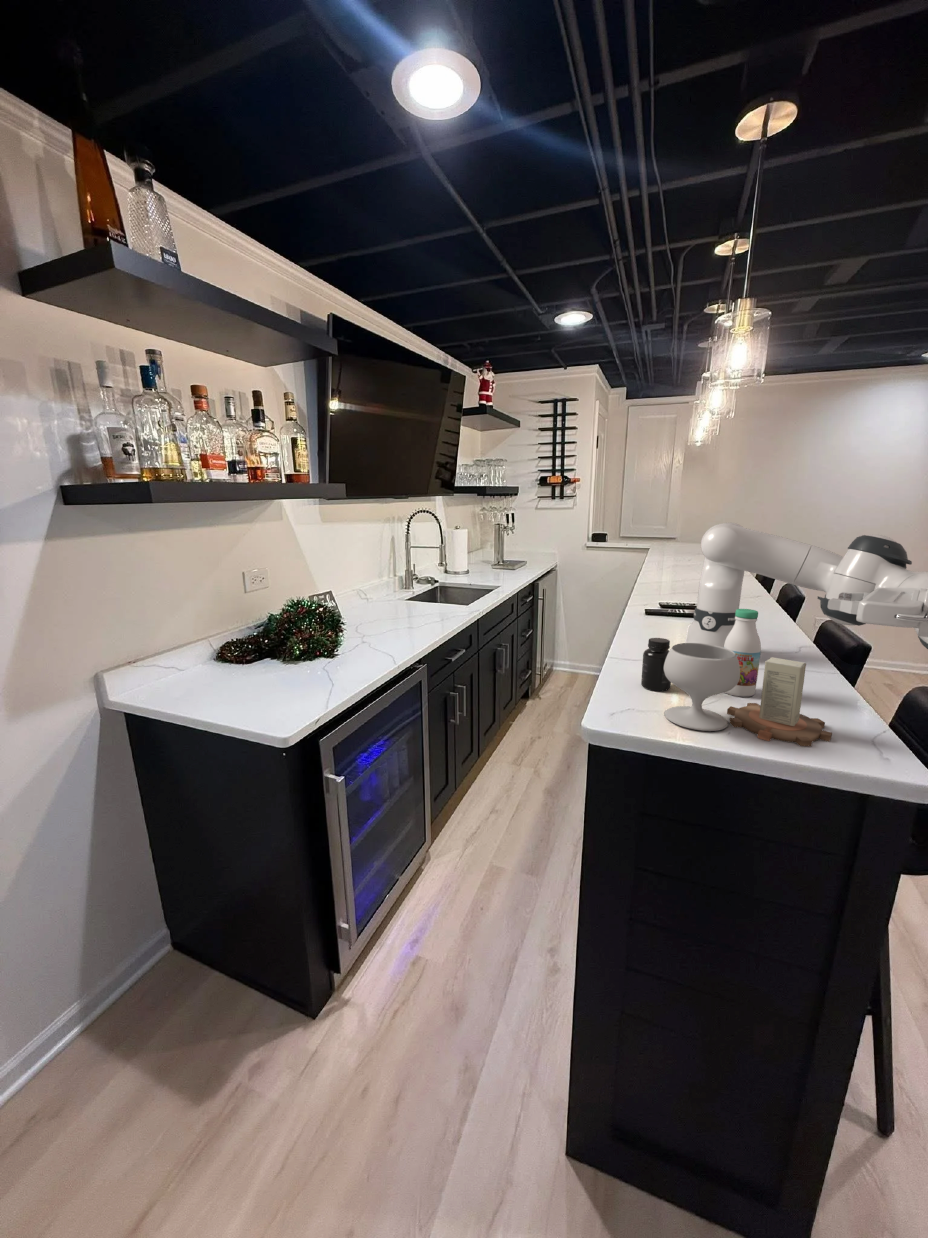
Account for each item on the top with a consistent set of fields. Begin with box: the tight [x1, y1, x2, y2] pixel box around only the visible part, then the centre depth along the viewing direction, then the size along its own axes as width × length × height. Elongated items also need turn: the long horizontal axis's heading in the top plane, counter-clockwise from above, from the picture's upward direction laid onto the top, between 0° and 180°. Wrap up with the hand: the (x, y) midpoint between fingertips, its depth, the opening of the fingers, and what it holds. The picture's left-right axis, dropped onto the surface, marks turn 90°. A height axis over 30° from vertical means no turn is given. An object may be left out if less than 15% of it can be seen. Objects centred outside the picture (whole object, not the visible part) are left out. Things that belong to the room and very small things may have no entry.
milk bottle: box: [723, 608, 762, 698], centre depth 117 cm, size 8×8×20 cm
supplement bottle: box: [640, 637, 672, 692], centre depth 121 cm, size 7×7×12 cm
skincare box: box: [759, 656, 807, 726], centre depth 99 cm, size 6×4×12 cm
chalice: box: [663, 642, 740, 732], centre depth 101 cm, size 14×14×15 cm
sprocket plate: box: [726, 702, 833, 747], centre depth 100 cm, size 18×18×1 cm
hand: (834, 600), depth 90 cm, fingers open, 8 cm apart
